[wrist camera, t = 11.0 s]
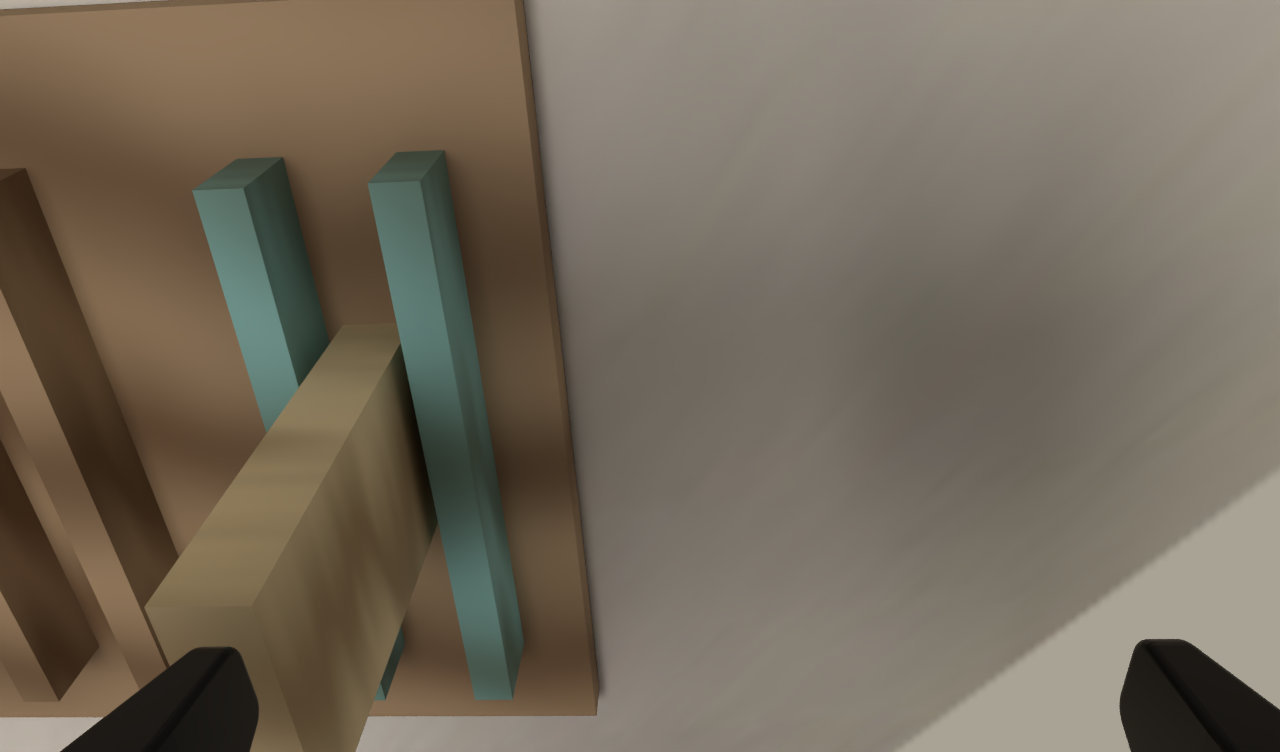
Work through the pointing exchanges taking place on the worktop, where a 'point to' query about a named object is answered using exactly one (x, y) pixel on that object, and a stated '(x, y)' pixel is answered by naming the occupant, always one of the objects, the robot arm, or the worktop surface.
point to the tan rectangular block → (313, 549)
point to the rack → (277, 324)
